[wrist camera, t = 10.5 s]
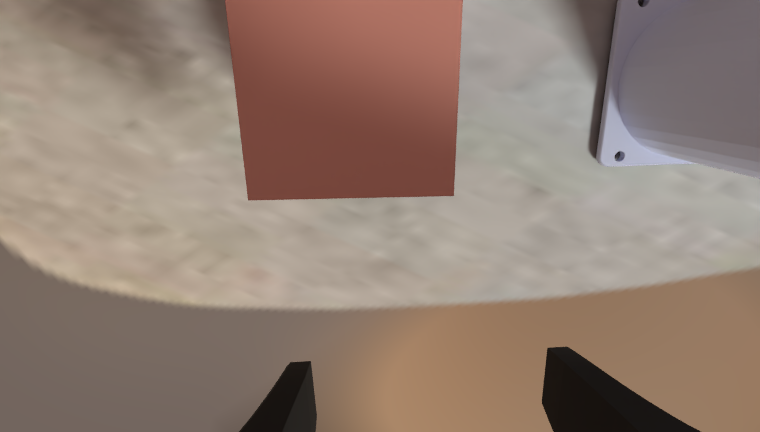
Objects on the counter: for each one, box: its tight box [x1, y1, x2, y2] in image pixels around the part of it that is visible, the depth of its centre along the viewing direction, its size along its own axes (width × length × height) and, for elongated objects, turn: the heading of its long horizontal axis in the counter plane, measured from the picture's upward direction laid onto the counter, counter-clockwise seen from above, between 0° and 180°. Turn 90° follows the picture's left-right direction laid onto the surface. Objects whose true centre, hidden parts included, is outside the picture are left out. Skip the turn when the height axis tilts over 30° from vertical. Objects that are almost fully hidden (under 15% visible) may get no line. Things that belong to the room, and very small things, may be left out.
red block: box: [225, 0, 463, 200], centre depth 11 cm, size 4×4×5 cm
